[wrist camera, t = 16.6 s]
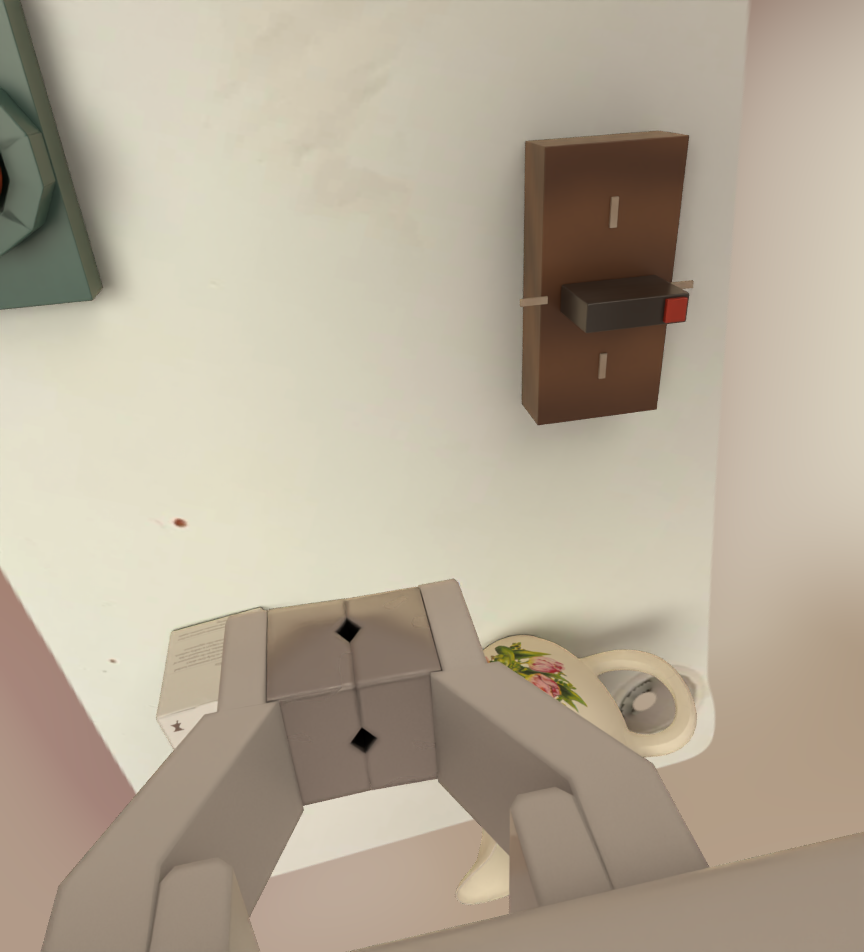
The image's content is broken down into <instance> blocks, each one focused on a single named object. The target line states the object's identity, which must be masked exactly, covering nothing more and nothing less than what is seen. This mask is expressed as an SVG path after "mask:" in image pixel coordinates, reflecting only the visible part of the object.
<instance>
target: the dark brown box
mask: <svg viewBox="0 0 864 952" xmlns="http://www.w3.org/2000/svg"><path fill="white" fill-rule="evenodd" d="M688 300H689V293H688V292H686V291H684V290H682V289H681V288H679V287H677V286H675V285H673V284H671V283H669V282H668V281H666V280H664V279H662V278H660V277H658V276H656V275H648V276H639V277H629V278H620V279H610V280H601V281H591V282H582V283H572V284H563V285H562V286H561V309H560V311H561V313H563V314H564V315H565V316H566V317H567V318H569V319H570V320H571V321H572V322H573V323H575V324H576V325H577V326H578V327H579V328H580V329H582V330H583V331H584V332H585V333H592V332H601V331H610V330H618V329H627V328H636V327H644V326H653V325H661V324H670V323H679V322H685V321H686V315H687V307H688Z"/></svg>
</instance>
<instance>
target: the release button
mask: <svg viewBox="0 0 864 952" xmlns="http://www.w3.org/2000/svg"><path fill="white" fill-rule="evenodd" d="M1 190H2V172H1V168H0V194H1Z"/></svg>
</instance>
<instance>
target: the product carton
mask: <svg viewBox="0 0 864 952" xmlns="http://www.w3.org/2000/svg"><path fill="white" fill-rule="evenodd" d="M262 610H263V609H262V608H256V609H252V610H249V611H245V612H242V613H249V612H256V611H262ZM242 613H238V614H242ZM234 615H235V614H234ZM228 617H229V616H227V617H223V618H220V619H216V620H213V621H209V622H205V623H201V624H198V625H194V626H190V627H187V628H183V629H179V630H175V631H172V632H171V634H170V640H169V646H168V653H167V659H166V665H165V671H164V676H163V682H162V688H161V693H160V699H159V704H158V709H157V714H156V720H157V722H158V723H159V725H160V727H161V729H162V730H163V732H164V734H165V735H166V737H167V739H168V740H169V742H170V744H171V746H172V747H173V749H174V750H175V748H176V747H177V746H178V745H179V744H180V743H181V741H182V740H183V739H184V738H185V737H186V735H187V734H188V733H189V732H190V731H191V730H192V728H193V727H194V726H195V725H196V724H197V723H198V721H199V720H200V719H201V718H202V717H203V715H204V714H209V713H214V712H217V704H218V694H219V684H220V673H221V663H222V653H223V642H224V632H225V623H226V621H227V619H228Z"/></svg>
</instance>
